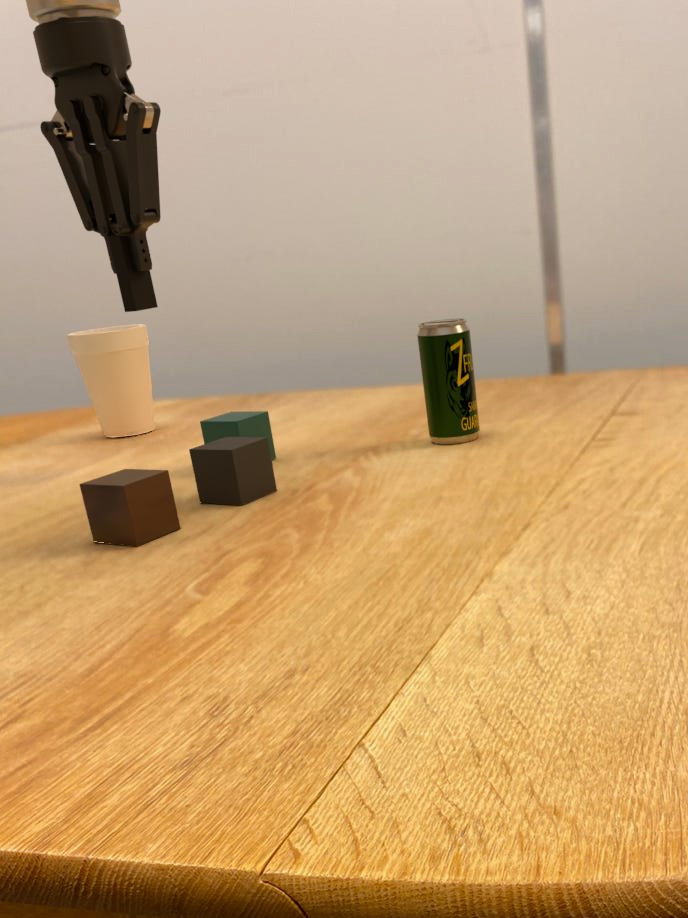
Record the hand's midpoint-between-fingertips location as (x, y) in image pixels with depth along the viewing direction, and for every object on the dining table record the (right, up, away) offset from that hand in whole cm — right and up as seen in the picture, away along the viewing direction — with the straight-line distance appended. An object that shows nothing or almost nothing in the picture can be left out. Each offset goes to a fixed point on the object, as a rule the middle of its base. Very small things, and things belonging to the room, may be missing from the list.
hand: (141, 309), depth 99 cm
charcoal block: (+9, -18, -2) cm, 20 cm away
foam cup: (-14, -4, +38) cm, 41 cm away
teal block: (+7, -12, +12) cm, 19 cm away
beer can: (+29, -10, +13) cm, 33 cm away
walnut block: (+3, -22, -11) cm, 25 cm away
